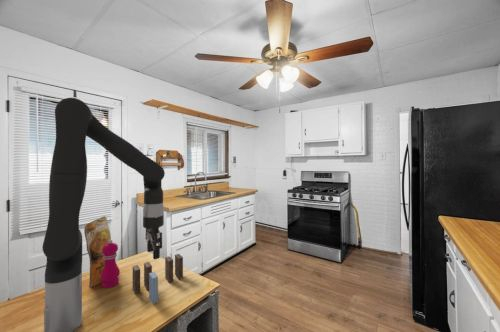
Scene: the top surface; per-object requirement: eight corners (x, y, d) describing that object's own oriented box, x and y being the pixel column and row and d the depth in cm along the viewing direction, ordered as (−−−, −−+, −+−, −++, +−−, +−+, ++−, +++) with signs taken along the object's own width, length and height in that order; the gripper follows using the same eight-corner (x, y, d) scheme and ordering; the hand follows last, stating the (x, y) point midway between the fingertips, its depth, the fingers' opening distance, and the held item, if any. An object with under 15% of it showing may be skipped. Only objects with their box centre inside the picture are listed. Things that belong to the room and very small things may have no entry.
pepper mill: (118, 286, 95) (117, 241, 95) (98, 290, 92) (98, 243, 92) (121, 278, 102) (120, 236, 101) (103, 281, 99) (102, 238, 99)
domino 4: (168, 283, 98) (168, 261, 98) (165, 278, 102) (165, 257, 102) (173, 281, 99) (173, 259, 99) (169, 277, 103) (169, 256, 103)
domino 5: (178, 279, 101) (178, 258, 101) (174, 275, 105) (174, 254, 104) (182, 278, 102) (182, 257, 102) (179, 273, 106) (178, 253, 106)
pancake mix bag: (78, 290, 92) (77, 225, 92) (105, 268, 111) (105, 214, 111) (94, 289, 93) (93, 224, 92) (119, 268, 112) (118, 214, 111)
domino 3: (152, 304, 83) (152, 278, 83) (149, 297, 87) (149, 273, 87) (158, 302, 84) (157, 276, 84) (154, 295, 88) (154, 271, 88)
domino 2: (147, 290, 92) (146, 267, 92) (144, 285, 96) (144, 263, 96) (151, 288, 93) (151, 265, 93) (148, 283, 97) (148, 261, 97)
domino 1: (135, 294, 89) (134, 270, 89) (132, 289, 93) (132, 266, 93) (140, 292, 90) (140, 269, 90) (137, 287, 94) (137, 264, 94)
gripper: (139, 212, 89) (138, 251, 89) (148, 219, 78) (147, 264, 78) (158, 210, 93) (157, 247, 93) (169, 216, 82) (168, 258, 82)
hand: (153, 254), depth 86 cm, fingers open, 8 cm apart
